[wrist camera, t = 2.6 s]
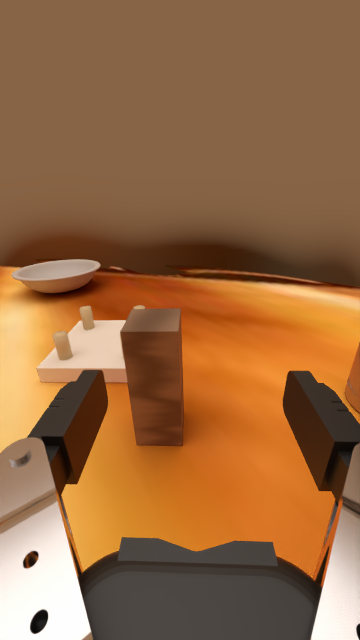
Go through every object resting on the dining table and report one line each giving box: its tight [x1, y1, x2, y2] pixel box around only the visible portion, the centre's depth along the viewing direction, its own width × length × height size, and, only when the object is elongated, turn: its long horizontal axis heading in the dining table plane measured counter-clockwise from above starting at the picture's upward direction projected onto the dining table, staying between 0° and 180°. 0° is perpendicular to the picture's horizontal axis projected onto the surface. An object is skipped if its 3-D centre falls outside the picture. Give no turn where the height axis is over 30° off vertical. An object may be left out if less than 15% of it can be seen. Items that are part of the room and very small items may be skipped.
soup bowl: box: [12, 260, 100, 293], centre depth 78 cm, size 24×24×7 cm
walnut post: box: [120, 309, 184, 446], centre depth 27 cm, size 5×5×14 cm
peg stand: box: [36, 305, 145, 383], centre depth 44 cm, size 16×16×6 cm
